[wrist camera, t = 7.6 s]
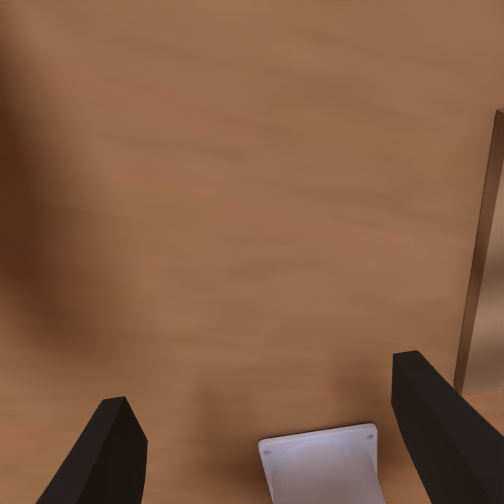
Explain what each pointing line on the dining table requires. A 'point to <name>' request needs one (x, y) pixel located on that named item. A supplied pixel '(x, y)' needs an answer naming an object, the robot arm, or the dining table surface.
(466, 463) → the robot arm
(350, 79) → the dining table surface
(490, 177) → the carrier board
